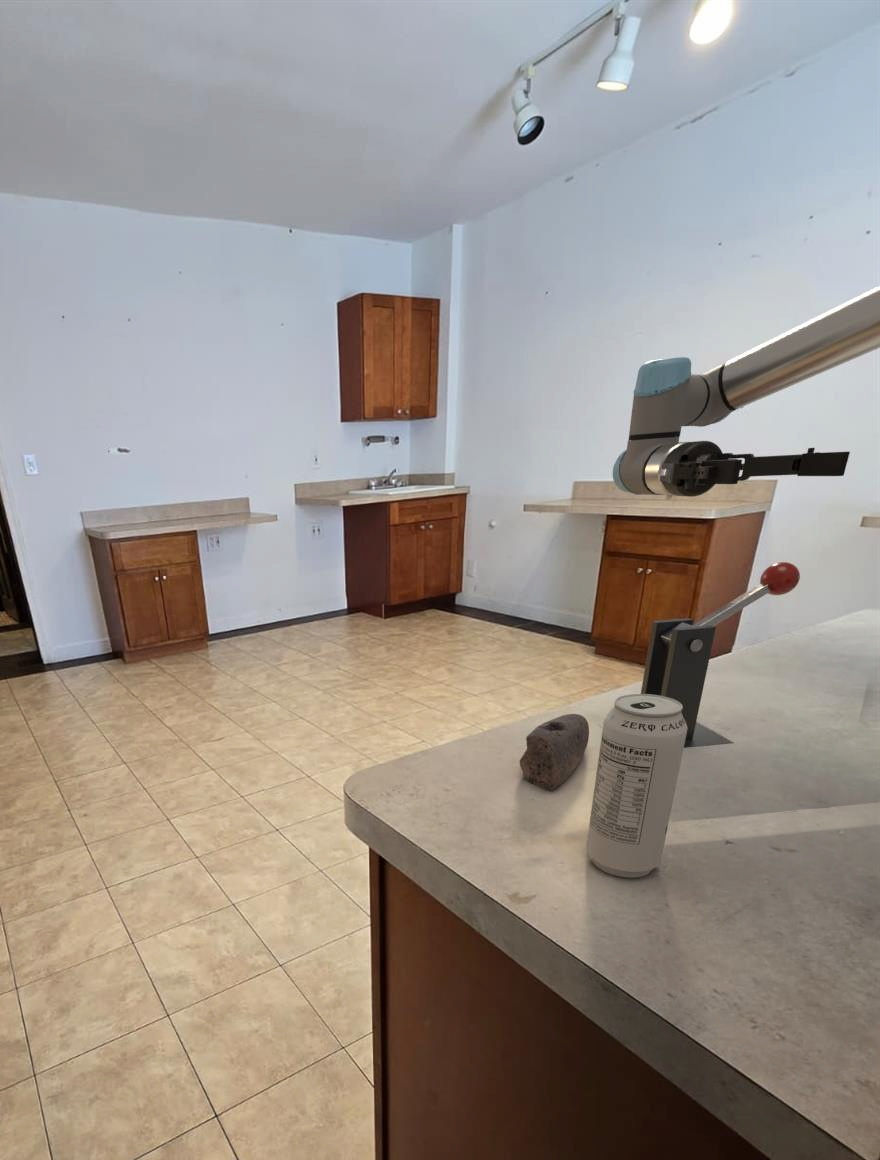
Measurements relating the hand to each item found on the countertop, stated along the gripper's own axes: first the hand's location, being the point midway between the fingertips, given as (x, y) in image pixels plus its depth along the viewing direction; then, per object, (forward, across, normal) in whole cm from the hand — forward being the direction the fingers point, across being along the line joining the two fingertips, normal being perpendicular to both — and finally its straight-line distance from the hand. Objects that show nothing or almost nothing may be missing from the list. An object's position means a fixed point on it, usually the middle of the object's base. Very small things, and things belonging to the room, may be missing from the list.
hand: (790, 467), depth 78 cm
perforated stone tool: (+18, +34, -30) cm, 49 cm away
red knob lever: (+12, +12, -15) cm, 23 cm away
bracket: (+12, +18, -30) cm, 37 cm away
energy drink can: (+36, +36, -30) cm, 59 cm away
